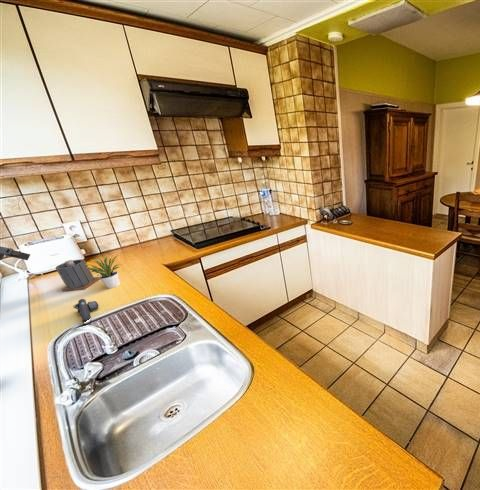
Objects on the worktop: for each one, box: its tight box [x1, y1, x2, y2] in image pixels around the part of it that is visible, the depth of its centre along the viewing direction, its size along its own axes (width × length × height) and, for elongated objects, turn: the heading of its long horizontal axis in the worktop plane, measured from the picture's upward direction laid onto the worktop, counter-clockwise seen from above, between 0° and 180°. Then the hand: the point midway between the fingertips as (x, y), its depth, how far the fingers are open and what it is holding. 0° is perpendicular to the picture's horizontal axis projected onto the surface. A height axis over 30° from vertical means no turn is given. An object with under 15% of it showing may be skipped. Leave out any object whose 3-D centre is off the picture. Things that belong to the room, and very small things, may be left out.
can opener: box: [72, 298, 99, 323], centre depth 111 cm, size 18×7×6 cm, turn 44°
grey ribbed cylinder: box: [55, 258, 94, 288], centre depth 134 cm, size 10×10×11 cm
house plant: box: [85, 253, 122, 289], centre depth 133 cm, size 14×14×16 cm
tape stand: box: [61, 259, 101, 293], centre depth 134 cm, size 10×10×14 cm
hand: (15, 257), depth 118 cm, fingers open, 13 cm apart
